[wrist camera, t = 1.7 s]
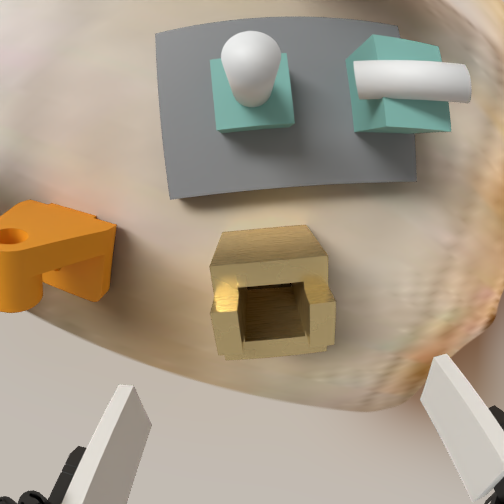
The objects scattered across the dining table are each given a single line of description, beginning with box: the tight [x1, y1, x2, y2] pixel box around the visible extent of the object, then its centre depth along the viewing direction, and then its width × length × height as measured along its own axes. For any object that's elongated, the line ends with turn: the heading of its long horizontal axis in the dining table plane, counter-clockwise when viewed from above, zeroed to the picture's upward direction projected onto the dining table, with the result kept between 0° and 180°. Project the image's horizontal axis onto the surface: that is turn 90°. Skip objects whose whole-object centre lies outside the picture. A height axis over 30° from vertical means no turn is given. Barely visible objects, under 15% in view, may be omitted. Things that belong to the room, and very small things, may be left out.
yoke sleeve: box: [210, 225, 336, 360], centre depth 22 cm, size 7×7×10 cm
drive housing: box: [155, 17, 472, 200], centre depth 16 cm, size 20×14×12 cm
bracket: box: [0, 200, 117, 313], centre depth 20 cm, size 11×7×12 cm, turn 74°
